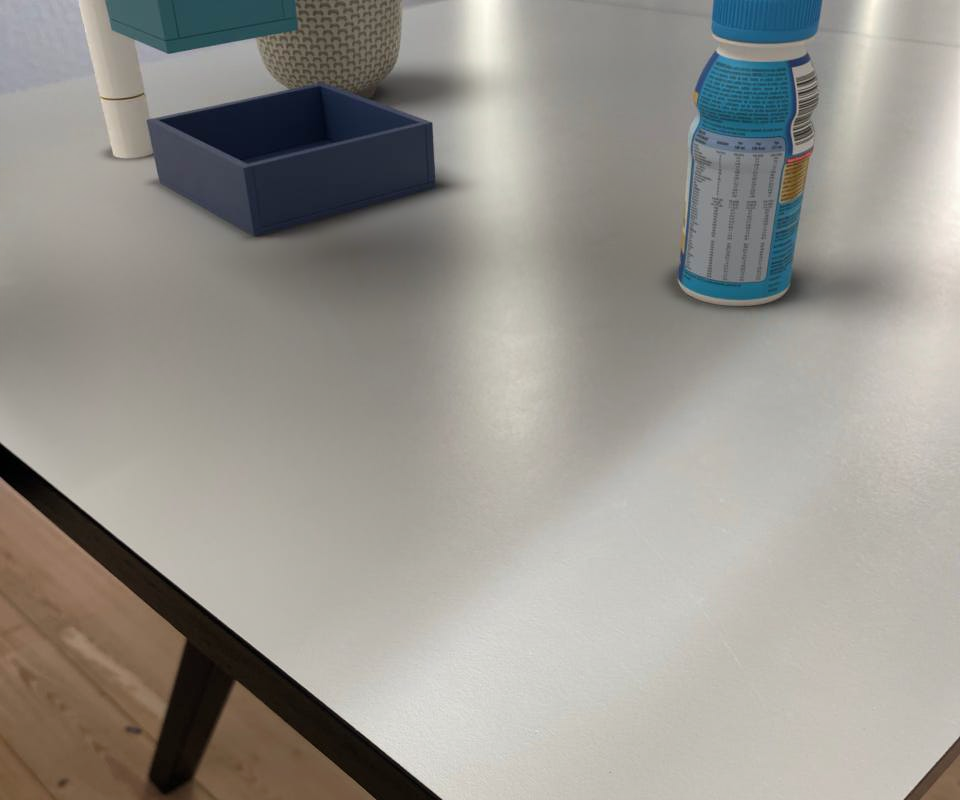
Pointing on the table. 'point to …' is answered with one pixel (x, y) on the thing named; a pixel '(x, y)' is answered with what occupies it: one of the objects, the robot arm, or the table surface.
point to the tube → (117, 82)
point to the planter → (336, 45)
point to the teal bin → (199, 21)
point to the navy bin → (292, 156)
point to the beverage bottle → (749, 152)
